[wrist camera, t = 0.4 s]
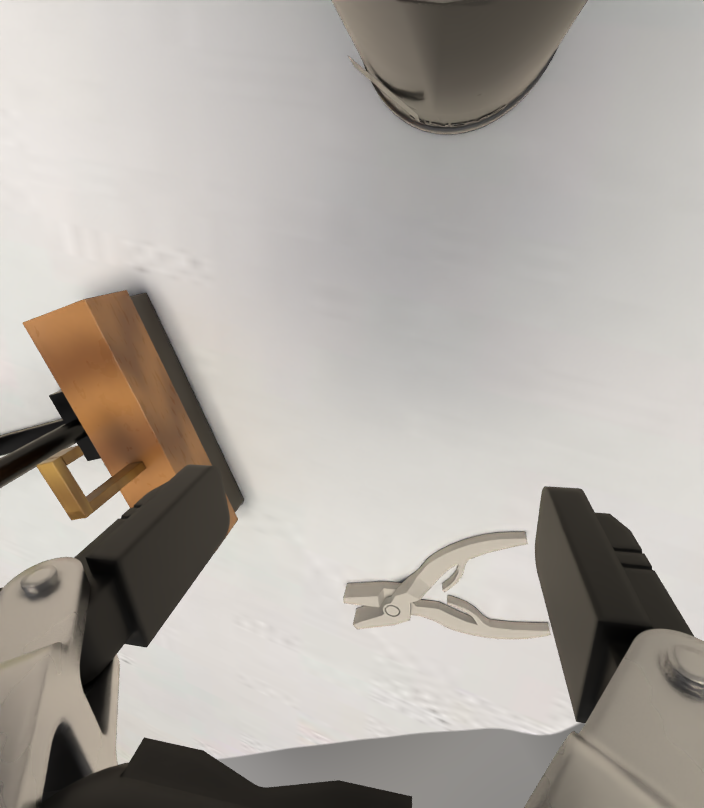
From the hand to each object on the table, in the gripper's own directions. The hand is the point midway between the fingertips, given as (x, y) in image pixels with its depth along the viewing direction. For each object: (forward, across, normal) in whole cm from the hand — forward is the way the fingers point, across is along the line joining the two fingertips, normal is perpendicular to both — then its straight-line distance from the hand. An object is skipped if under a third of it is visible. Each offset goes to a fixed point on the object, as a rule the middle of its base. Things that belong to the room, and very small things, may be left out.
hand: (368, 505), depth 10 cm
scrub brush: (+17, +18, +5) cm, 26 cm away
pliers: (+18, -2, +21) cm, 27 cm away
